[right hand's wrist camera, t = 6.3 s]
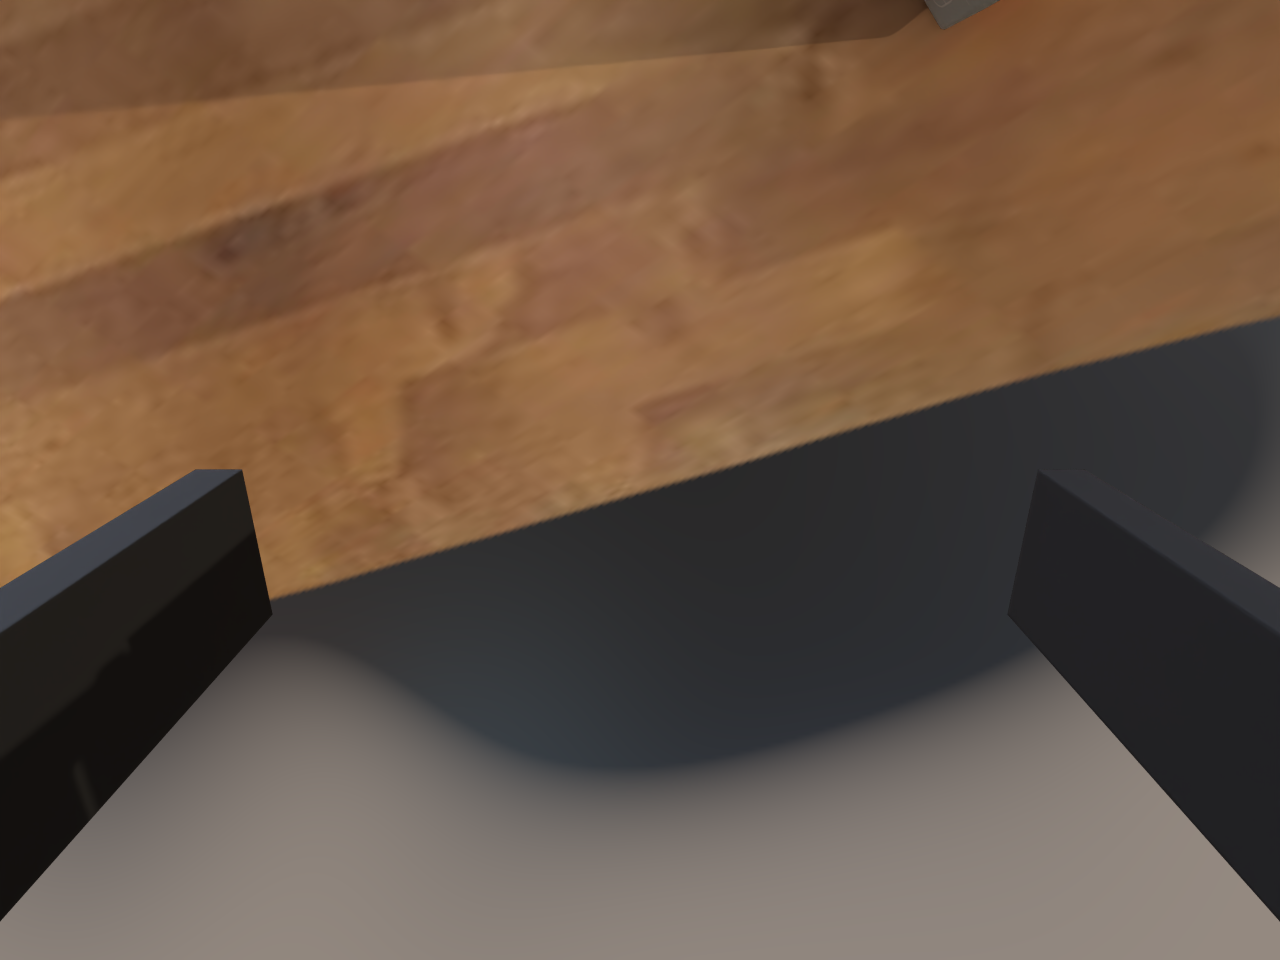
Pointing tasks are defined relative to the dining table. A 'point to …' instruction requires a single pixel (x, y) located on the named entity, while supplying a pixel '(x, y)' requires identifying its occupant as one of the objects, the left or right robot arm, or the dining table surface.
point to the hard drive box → (955, 10)
